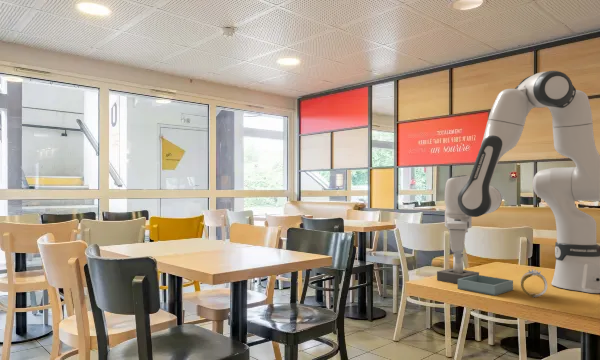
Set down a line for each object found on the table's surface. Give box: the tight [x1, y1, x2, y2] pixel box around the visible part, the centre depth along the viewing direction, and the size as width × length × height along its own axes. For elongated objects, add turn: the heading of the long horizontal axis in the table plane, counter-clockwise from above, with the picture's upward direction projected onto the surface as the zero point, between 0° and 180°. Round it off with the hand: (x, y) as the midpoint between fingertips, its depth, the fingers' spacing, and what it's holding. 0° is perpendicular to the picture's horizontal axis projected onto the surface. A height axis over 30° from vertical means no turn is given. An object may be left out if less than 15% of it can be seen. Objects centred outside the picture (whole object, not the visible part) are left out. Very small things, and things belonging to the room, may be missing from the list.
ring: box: [520, 269, 548, 298], centre depth 131 cm, size 7×3×8 cm, turn 68°
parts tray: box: [457, 274, 514, 297], centre depth 141 cm, size 12×12×3 cm
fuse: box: [452, 252, 464, 274], centre depth 156 cm, size 3×3×8 cm
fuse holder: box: [436, 267, 480, 285], centre depth 155 cm, size 10×10×3 cm
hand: (458, 262), depth 156 cm, fingers closed on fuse, 3 cm apart
